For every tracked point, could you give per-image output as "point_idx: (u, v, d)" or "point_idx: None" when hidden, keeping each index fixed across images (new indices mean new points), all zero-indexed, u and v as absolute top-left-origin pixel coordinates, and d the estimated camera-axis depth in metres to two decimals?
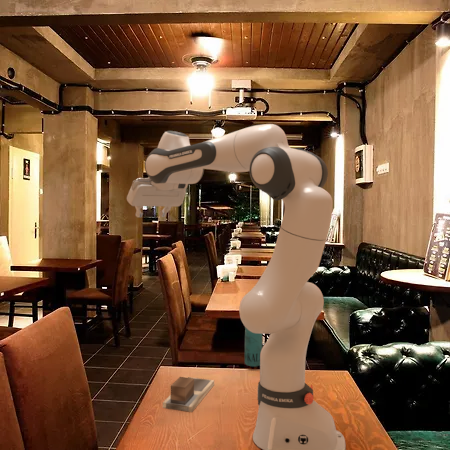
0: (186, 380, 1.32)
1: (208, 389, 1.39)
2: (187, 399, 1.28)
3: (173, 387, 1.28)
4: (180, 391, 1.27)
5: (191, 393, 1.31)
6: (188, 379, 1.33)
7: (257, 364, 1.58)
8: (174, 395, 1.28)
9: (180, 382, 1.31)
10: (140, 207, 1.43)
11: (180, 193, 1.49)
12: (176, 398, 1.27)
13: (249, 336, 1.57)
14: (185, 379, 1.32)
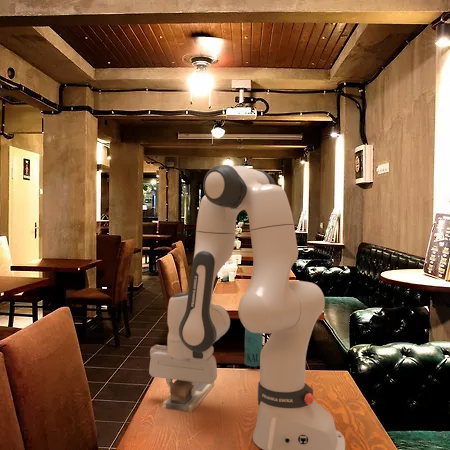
0: None
1: (208, 389, 1.39)
2: (187, 399, 1.28)
3: (173, 387, 1.28)
4: (180, 391, 1.27)
5: None
6: None
7: (257, 364, 1.58)
8: (174, 395, 1.28)
9: (180, 382, 1.31)
10: (168, 380, 1.31)
11: (204, 365, 1.26)
12: (176, 398, 1.27)
13: (249, 336, 1.57)
14: None
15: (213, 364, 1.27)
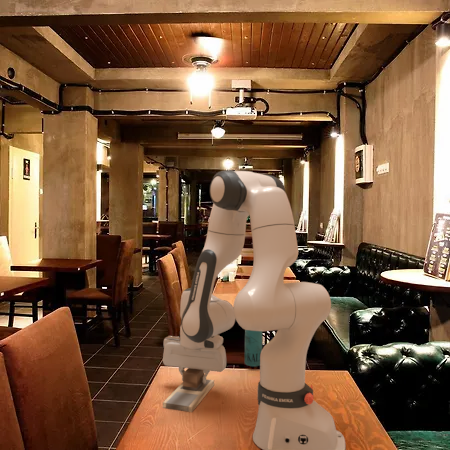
0: None
1: (208, 389, 1.39)
2: (198, 385, 1.38)
3: (185, 374, 1.37)
4: (192, 378, 1.36)
5: None
6: None
7: (257, 364, 1.58)
8: (186, 381, 1.37)
9: (192, 370, 1.40)
10: (181, 369, 1.40)
11: (215, 354, 1.36)
12: (188, 385, 1.37)
13: (249, 336, 1.57)
14: None
15: (222, 353, 1.37)
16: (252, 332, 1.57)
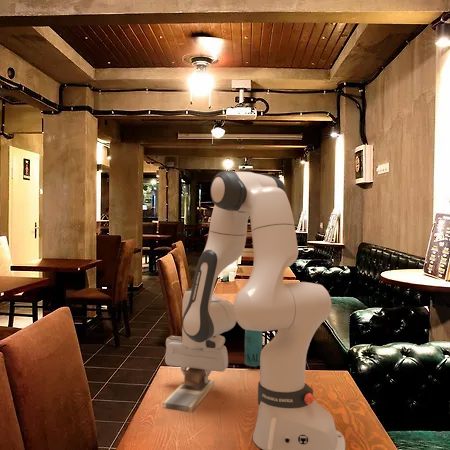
0: None
1: (208, 389, 1.39)
2: (200, 384, 1.39)
3: (187, 373, 1.38)
4: (194, 377, 1.37)
5: None
6: None
7: (257, 364, 1.58)
8: (188, 380, 1.38)
9: (194, 369, 1.41)
10: (183, 368, 1.41)
11: (217, 354, 1.36)
12: (190, 384, 1.38)
13: (249, 336, 1.57)
14: None
15: (224, 353, 1.37)
16: (252, 332, 1.57)
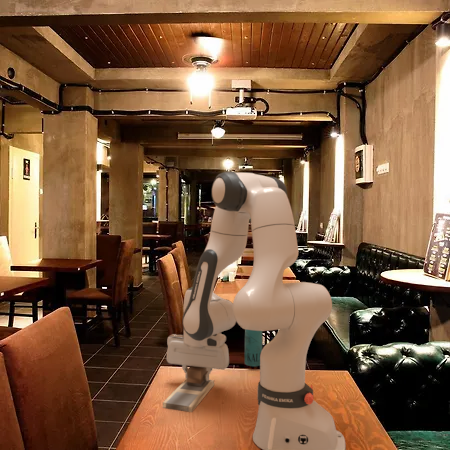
0: None
1: (208, 389, 1.39)
2: (202, 381, 1.41)
3: (189, 371, 1.40)
4: (196, 374, 1.39)
5: None
6: None
7: (257, 364, 1.58)
8: (190, 377, 1.40)
9: None
10: (184, 366, 1.43)
11: (218, 352, 1.38)
12: (192, 381, 1.40)
13: (249, 336, 1.57)
14: None
15: (225, 351, 1.39)
16: (252, 332, 1.57)
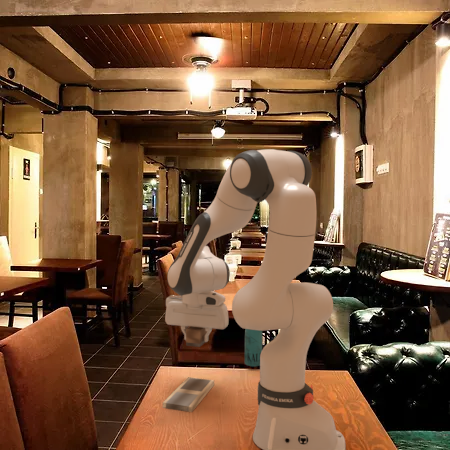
0: None
1: (208, 389, 1.39)
2: (201, 342, 1.39)
3: (188, 331, 1.38)
4: (195, 334, 1.37)
5: None
6: None
7: (257, 364, 1.58)
8: (189, 338, 1.38)
9: (195, 327, 1.41)
10: (183, 327, 1.40)
11: (217, 311, 1.36)
12: (191, 341, 1.38)
13: (249, 336, 1.57)
14: None
15: (224, 310, 1.36)
16: (252, 332, 1.57)
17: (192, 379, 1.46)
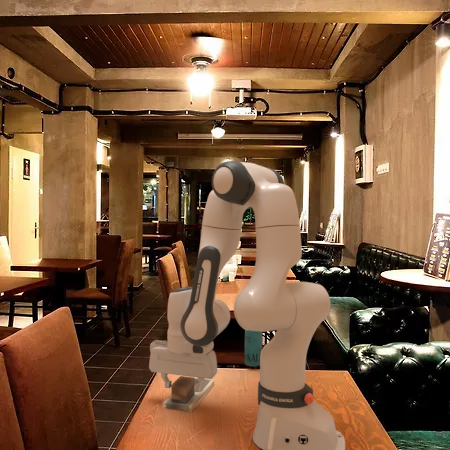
0: (186, 379, 1.32)
1: (208, 389, 1.39)
2: (188, 398, 1.29)
3: (174, 386, 1.28)
4: (181, 390, 1.28)
5: (192, 392, 1.32)
6: (189, 378, 1.33)
7: (257, 364, 1.58)
8: (175, 394, 1.28)
9: (181, 381, 1.31)
10: (163, 375, 1.31)
11: (205, 360, 1.26)
12: (177, 397, 1.28)
13: (249, 336, 1.57)
14: (185, 378, 1.33)
15: (213, 359, 1.27)
16: (252, 332, 1.57)
17: None
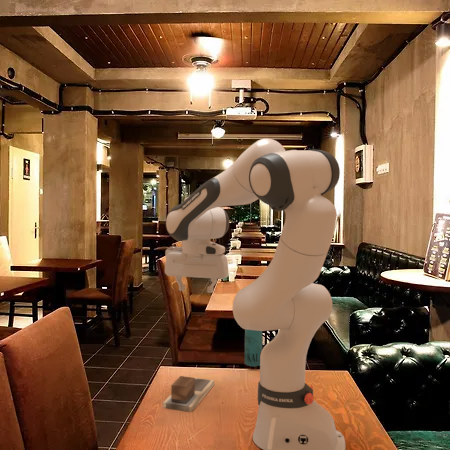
0: (186, 379, 1.32)
1: (208, 389, 1.39)
2: (188, 398, 1.29)
3: (174, 386, 1.28)
4: (181, 390, 1.28)
5: (192, 392, 1.32)
6: (189, 378, 1.33)
7: (257, 364, 1.58)
8: (175, 394, 1.28)
9: (181, 381, 1.31)
10: (177, 278, 1.40)
11: (217, 261, 1.35)
12: (177, 397, 1.28)
13: (249, 336, 1.57)
14: (185, 378, 1.33)
15: (224, 260, 1.36)
16: (252, 332, 1.57)
17: None
